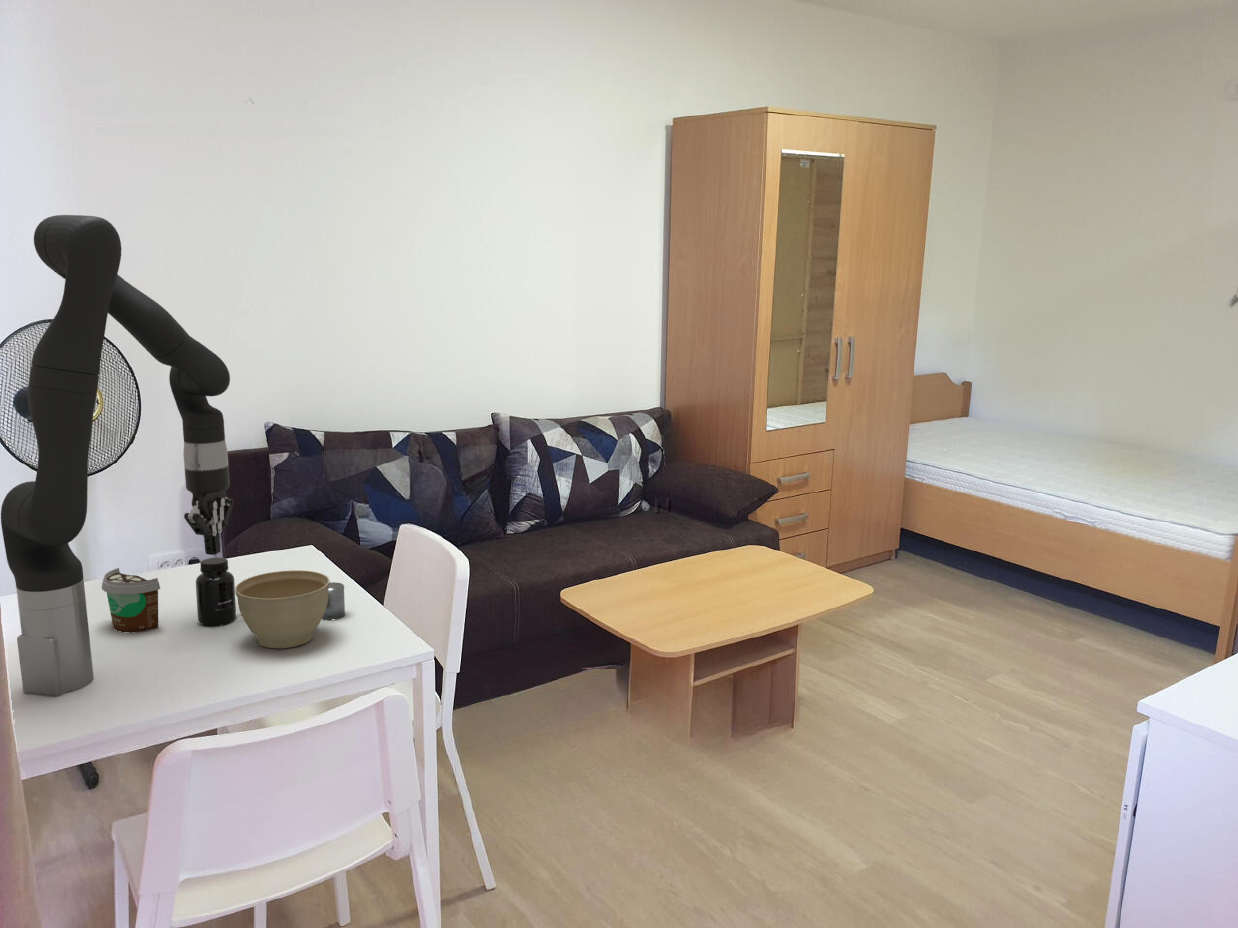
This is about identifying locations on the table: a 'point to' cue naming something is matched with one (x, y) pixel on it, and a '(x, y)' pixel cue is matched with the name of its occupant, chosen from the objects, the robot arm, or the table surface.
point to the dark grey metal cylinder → (335, 602)
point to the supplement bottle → (215, 593)
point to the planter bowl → (283, 606)
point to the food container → (131, 601)
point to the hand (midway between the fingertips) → (213, 553)
